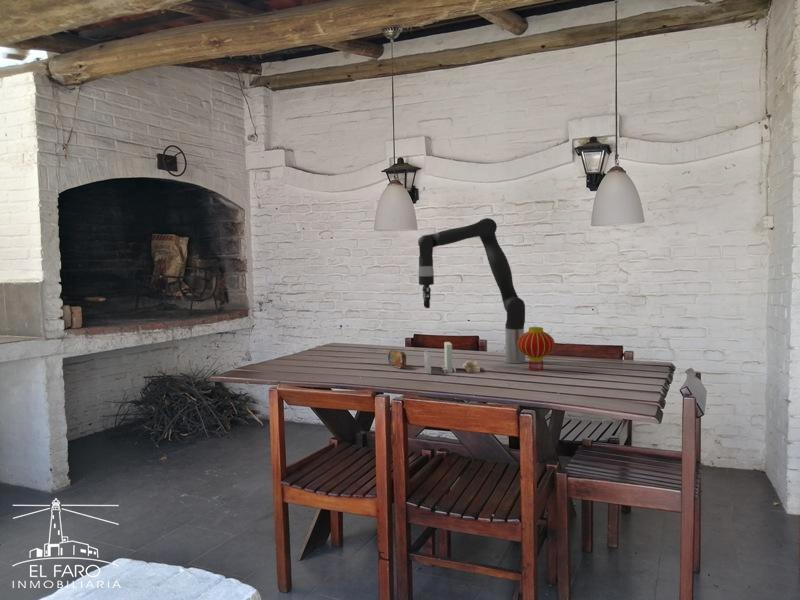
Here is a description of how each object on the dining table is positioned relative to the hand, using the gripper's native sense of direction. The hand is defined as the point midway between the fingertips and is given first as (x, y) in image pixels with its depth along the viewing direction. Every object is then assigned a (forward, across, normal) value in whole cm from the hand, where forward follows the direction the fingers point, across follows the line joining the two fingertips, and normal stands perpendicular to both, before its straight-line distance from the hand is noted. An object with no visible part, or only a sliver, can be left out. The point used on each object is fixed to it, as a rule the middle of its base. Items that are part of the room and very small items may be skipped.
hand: (426, 307), depth 305 cm
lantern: (+29, -22, -49) cm, 62 cm away
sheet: (+29, -17, -8) cm, 35 cm away
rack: (+29, -17, -4) cm, 34 cm away
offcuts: (+30, -17, -20) cm, 39 cm away
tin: (+29, -5, +16) cm, 33 cm away
